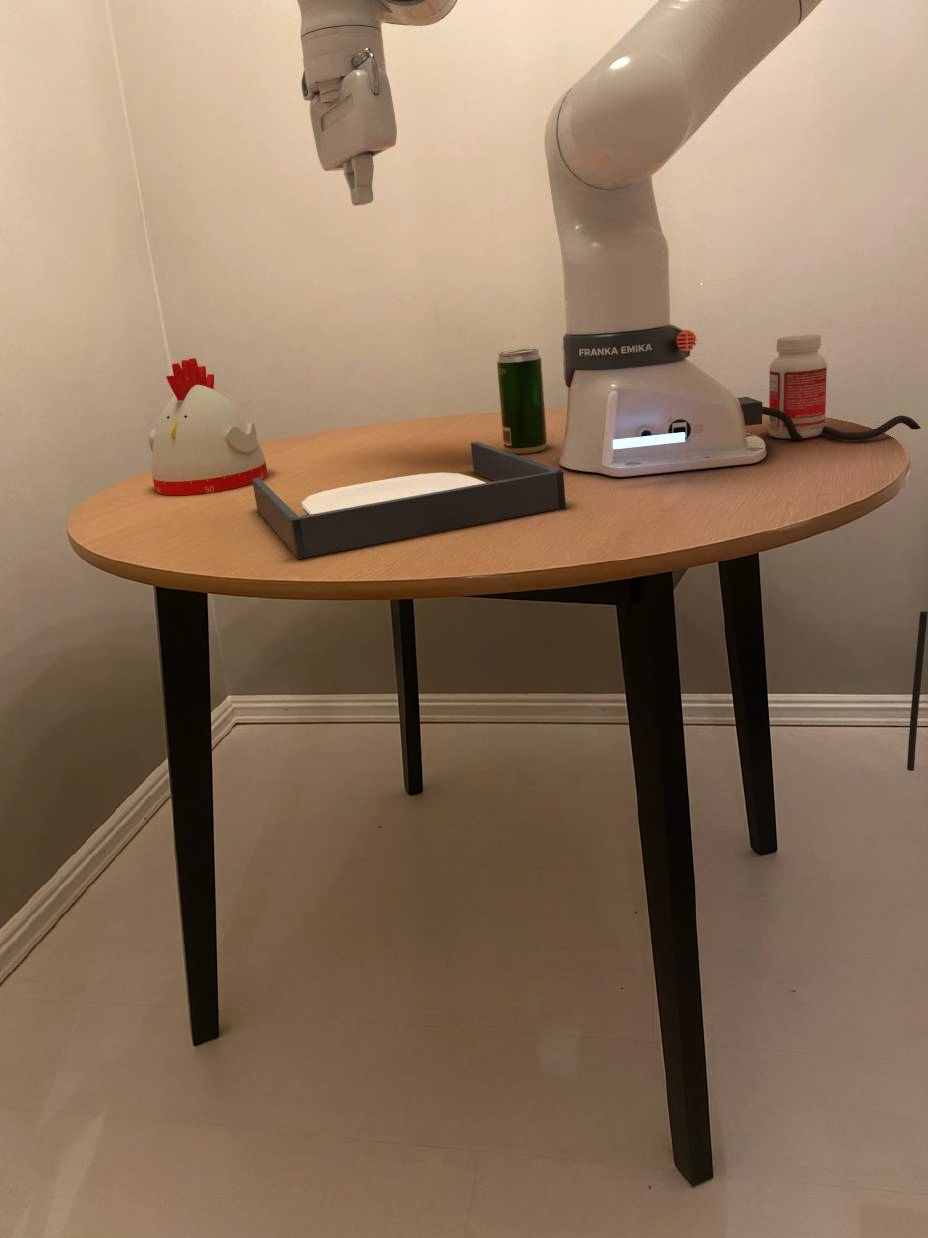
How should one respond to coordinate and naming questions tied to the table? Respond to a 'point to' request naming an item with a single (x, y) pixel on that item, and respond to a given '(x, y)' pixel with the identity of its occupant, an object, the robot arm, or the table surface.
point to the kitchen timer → (202, 439)
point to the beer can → (522, 401)
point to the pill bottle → (798, 386)
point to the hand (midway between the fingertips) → (363, 204)
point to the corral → (421, 507)
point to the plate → (385, 491)
